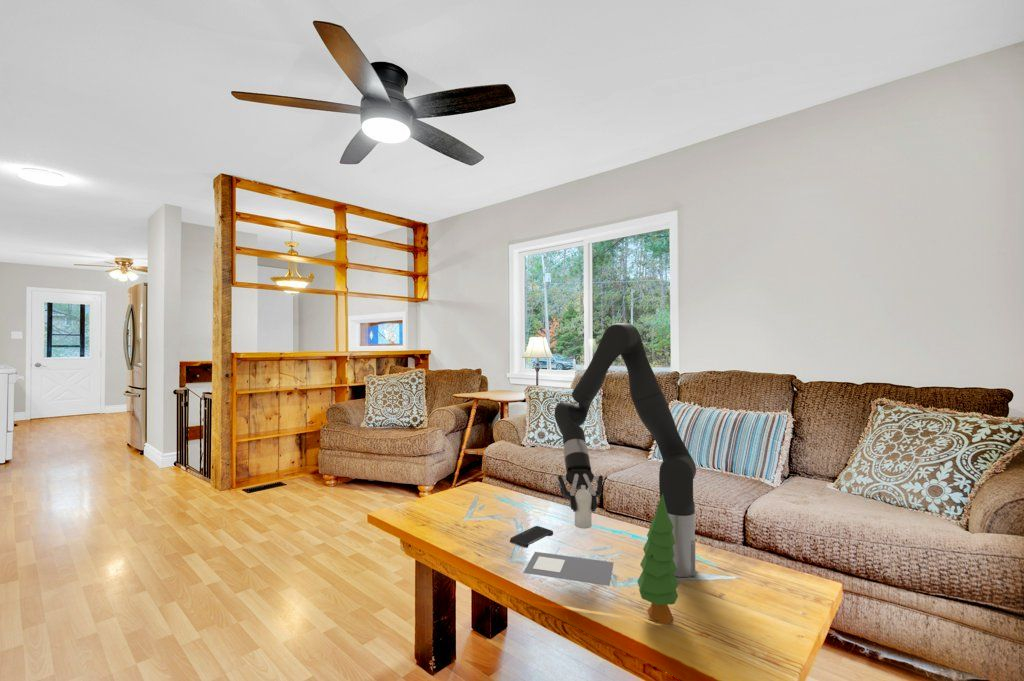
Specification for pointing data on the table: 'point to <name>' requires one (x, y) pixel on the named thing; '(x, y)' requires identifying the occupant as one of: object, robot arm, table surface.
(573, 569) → the mat
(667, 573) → the decorative tree
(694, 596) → the table surface
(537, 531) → the phone
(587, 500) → the white rounded cylinder
